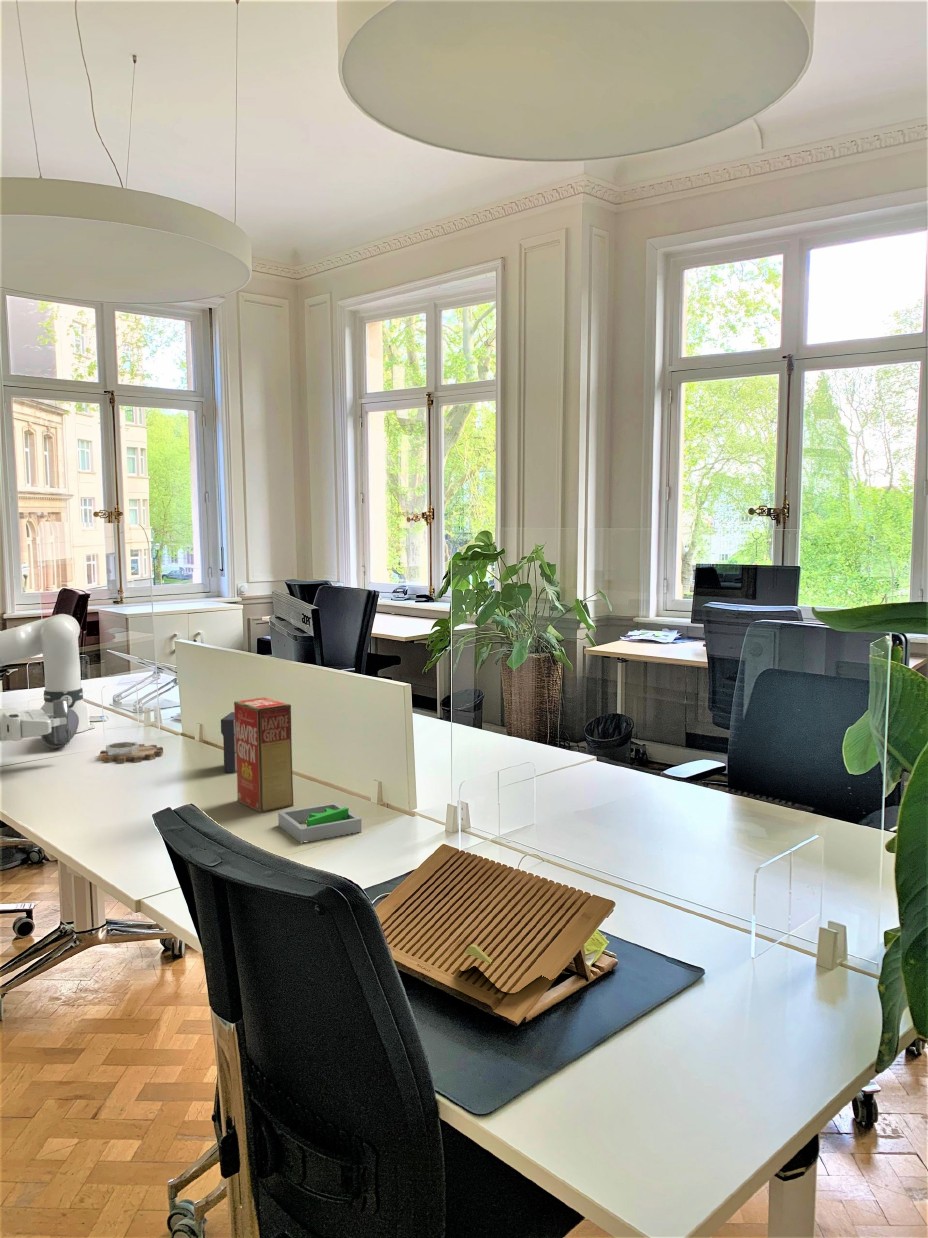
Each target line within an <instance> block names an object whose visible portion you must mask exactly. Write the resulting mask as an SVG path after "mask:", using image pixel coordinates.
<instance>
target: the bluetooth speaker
mask: <svg viewBox="0 0 928 1238" xmlns="http://www.w3.org/2000/svg"><path fill="white" fill-rule="evenodd" d="M78 725H79V718H78V715H77V713H76V712H75V711H74V710H72V709H69V729H70V741H71V740H72V739H73V737H75V736H76V731H77V728H78ZM40 736H41V740H42V743H44V744H45V745H46V746H47V747H49V748H52V749H53V748H54V749H55V748H57V749H59V748H64V747H66V746H67V744H68V743H63V744H56V743H55V738H54V727H51V733H48V734H45V735H40ZM65 745H66V746H65Z"/></svg>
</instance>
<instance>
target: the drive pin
mask: <svg viewBox="0 0 928 1238" xmlns="http://www.w3.org/2000/svg"><path fill="white" fill-rule="evenodd" d="M53 716H54V719H55V718H60V717H65V718H66V721H67V723H66V724H62V725H57V726H54V738H55V743H56V744H63V743H67V744H68V743H70V742H71V740H70V729H69V707H68V700H66V699H60V700H54V701H53Z"/></svg>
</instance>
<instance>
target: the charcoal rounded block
mask: <svg viewBox="0 0 928 1238" xmlns="http://www.w3.org/2000/svg"><path fill="white" fill-rule="evenodd" d="M220 734H221V735H222V736H223V737H222V738H223V739H222V740H223V743H222V744H223V772H224V773H227V774H234V773H237V761H236V735H235V711H232V712H230V713H228V714H227V715H225V716H224V717H222V718H221V719H220Z"/></svg>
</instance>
